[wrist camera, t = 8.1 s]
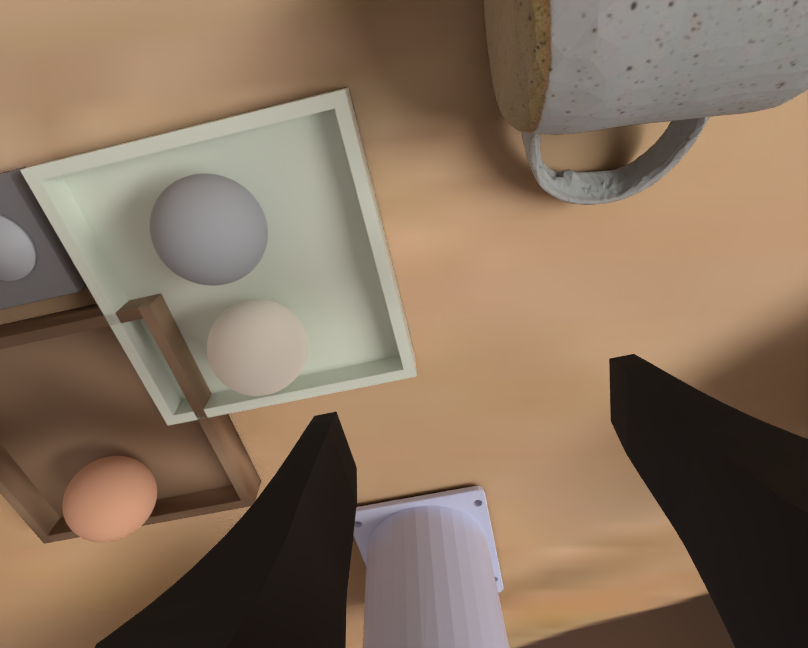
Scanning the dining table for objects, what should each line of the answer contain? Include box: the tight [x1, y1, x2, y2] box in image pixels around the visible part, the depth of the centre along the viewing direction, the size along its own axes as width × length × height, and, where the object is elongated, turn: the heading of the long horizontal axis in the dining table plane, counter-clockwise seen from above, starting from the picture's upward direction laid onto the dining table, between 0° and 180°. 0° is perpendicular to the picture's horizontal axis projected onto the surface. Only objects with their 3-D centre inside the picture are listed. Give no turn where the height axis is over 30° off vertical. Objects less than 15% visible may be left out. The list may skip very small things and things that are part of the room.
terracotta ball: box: [62, 456, 157, 542], centre depth 24 cm, size 4×4×4 cm
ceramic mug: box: [484, 0, 808, 205], centre depth 14 cm, size 11×8×8 cm
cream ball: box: [207, 299, 308, 396], centre depth 20 cm, size 4×4×4 cm
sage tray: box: [20, 87, 417, 426], centre depth 21 cm, size 12×12×2 cm
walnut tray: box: [0, 293, 261, 543], centre depth 24 cm, size 12×12×2 cm
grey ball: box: [150, 174, 268, 286], centre depth 18 cm, size 4×4×4 cm
